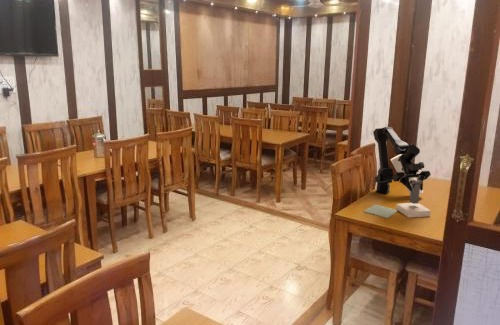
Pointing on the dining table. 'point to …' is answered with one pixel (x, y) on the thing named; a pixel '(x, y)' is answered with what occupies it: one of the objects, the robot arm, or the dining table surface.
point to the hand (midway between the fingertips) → (416, 190)
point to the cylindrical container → (399, 169)
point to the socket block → (413, 210)
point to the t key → (415, 191)
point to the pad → (381, 211)
